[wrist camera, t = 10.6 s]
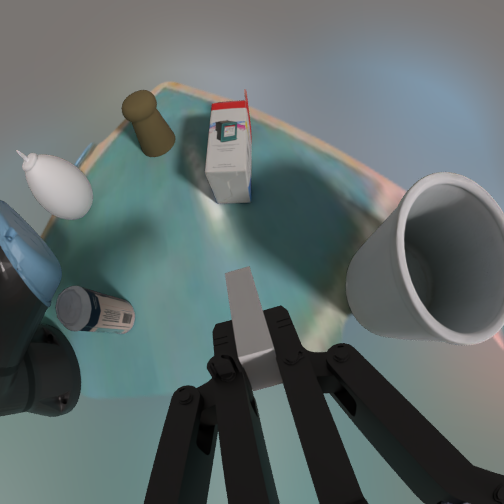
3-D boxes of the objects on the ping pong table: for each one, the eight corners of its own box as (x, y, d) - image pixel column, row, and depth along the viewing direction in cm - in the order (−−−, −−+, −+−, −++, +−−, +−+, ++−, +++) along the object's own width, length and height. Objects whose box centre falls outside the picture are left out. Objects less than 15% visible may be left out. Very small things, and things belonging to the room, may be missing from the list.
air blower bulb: (111, 191, 41) (47, 124, 23) (90, 235, 39) (12, 182, 21) (81, 182, 42) (20, 123, 24) (61, 222, 40) (-10, 174, 22)
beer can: (125, 292, 36) (73, 274, 24) (143, 320, 35) (92, 313, 23) (102, 312, 35) (47, 301, 24) (119, 340, 34) (64, 339, 23)
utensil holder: (408, 361, 31) (496, 371, 14) (318, 310, 34) (365, 288, 17) (446, 268, 34) (526, 228, 17) (366, 216, 37) (421, 142, 20)
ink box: (216, 205, 39) (221, 126, 43) (252, 203, 38) (252, 124, 43) (203, 172, 30) (212, 89, 35) (247, 169, 30) (247, 86, 34)
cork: (177, 149, 42) (156, 102, 31) (143, 162, 42) (115, 119, 31) (172, 124, 44) (153, 79, 33) (140, 136, 43) (116, 94, 33)
